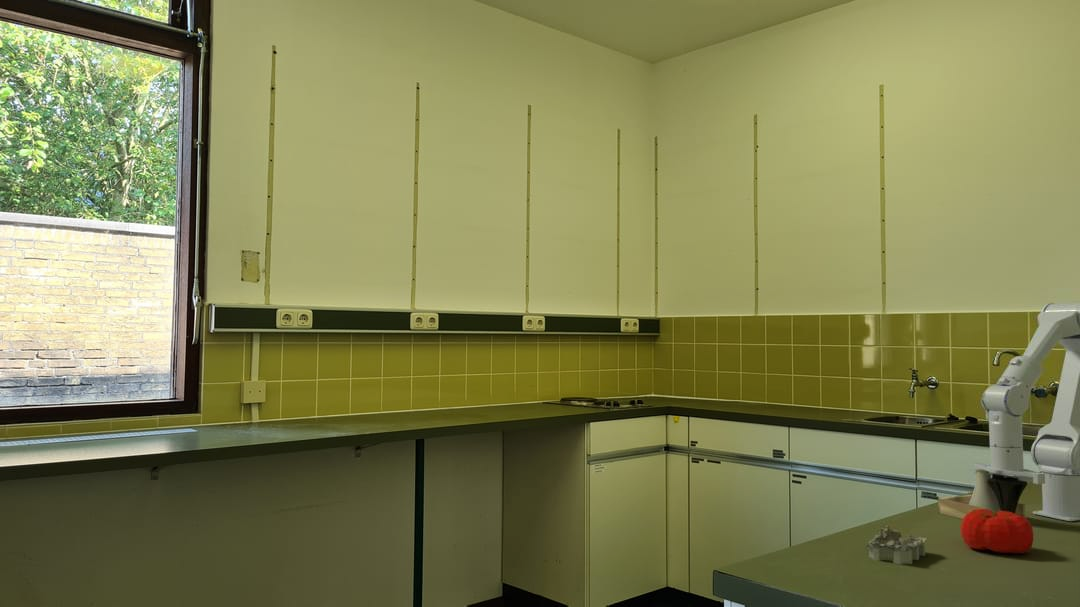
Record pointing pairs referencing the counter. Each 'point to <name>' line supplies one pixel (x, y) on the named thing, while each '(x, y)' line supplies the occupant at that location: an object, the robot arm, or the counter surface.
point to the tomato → (997, 531)
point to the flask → (984, 492)
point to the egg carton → (895, 547)
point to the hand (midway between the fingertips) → (1008, 515)
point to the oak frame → (965, 506)
